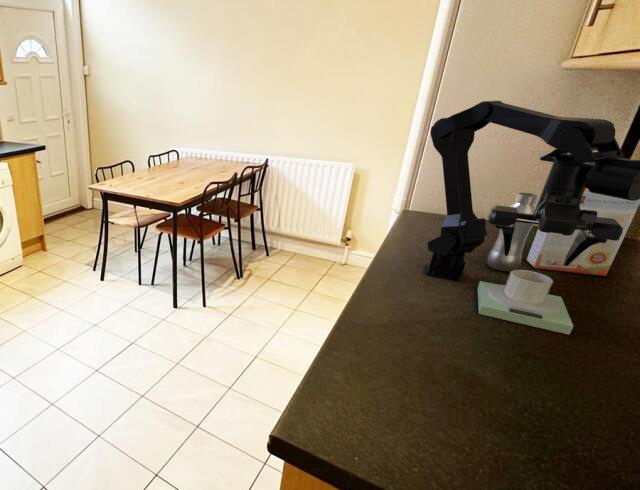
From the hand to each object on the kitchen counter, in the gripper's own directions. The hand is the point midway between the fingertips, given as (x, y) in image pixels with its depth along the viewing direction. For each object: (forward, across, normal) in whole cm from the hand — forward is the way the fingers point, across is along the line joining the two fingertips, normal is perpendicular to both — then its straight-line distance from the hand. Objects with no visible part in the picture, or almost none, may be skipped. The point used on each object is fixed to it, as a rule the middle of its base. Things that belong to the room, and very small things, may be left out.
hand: (534, 260), depth 86 cm
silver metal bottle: (+11, -2, +22) cm, 25 cm away
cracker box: (+11, +11, +31) cm, 35 cm away
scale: (+11, 0, -1) cm, 11 cm away
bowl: (+8, 0, -1) cm, 8 cm away
